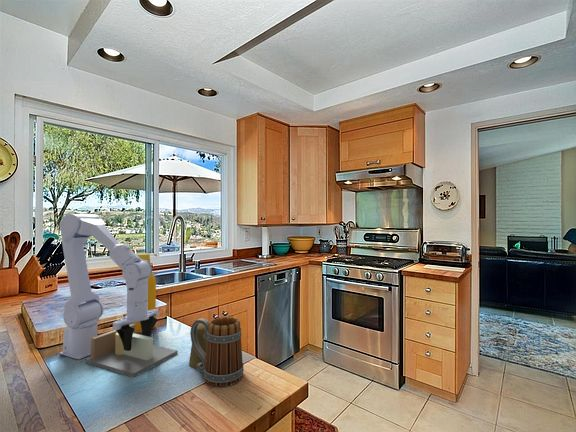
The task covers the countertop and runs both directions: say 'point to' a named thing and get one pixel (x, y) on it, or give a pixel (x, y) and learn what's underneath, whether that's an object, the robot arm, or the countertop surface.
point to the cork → (202, 342)
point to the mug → (220, 351)
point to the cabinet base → (123, 356)
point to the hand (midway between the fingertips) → (136, 346)
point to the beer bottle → (150, 293)
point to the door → (136, 347)
